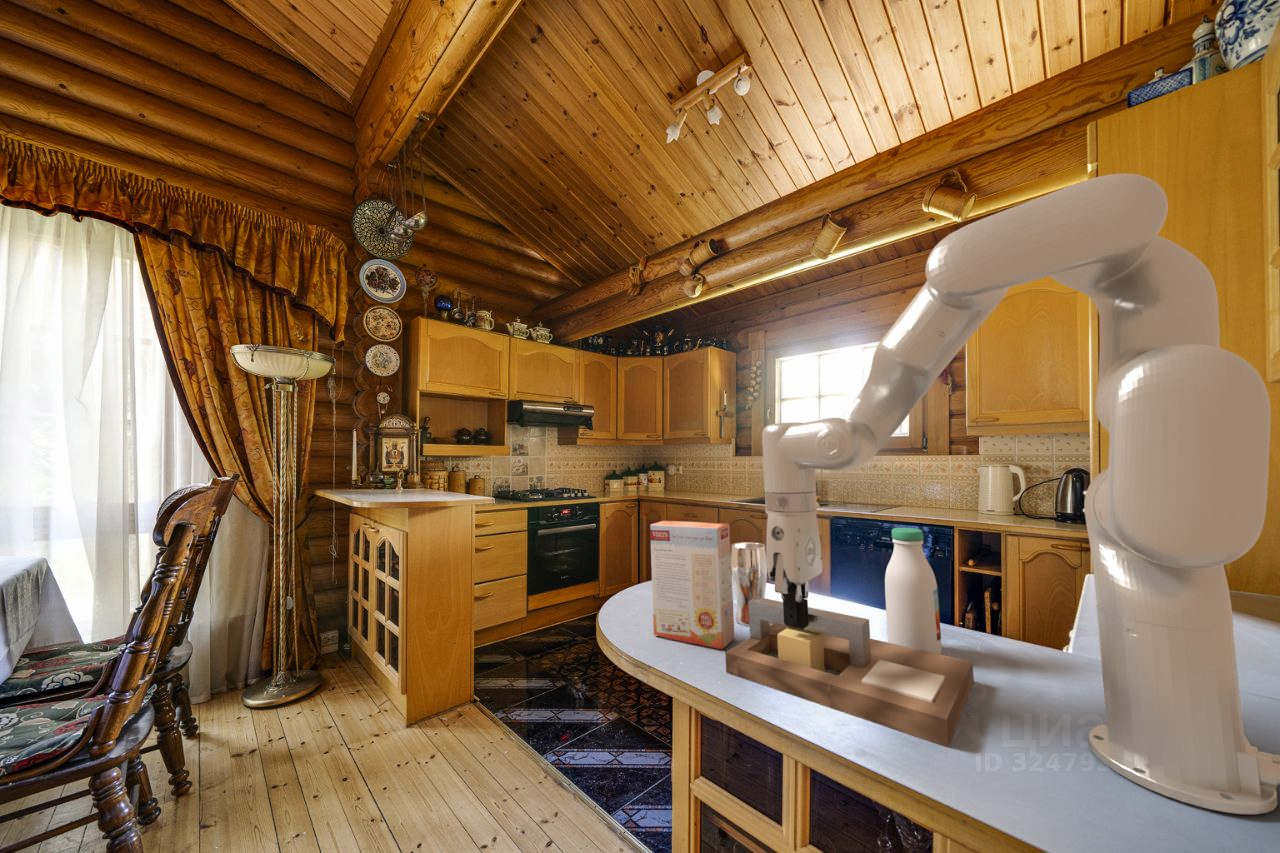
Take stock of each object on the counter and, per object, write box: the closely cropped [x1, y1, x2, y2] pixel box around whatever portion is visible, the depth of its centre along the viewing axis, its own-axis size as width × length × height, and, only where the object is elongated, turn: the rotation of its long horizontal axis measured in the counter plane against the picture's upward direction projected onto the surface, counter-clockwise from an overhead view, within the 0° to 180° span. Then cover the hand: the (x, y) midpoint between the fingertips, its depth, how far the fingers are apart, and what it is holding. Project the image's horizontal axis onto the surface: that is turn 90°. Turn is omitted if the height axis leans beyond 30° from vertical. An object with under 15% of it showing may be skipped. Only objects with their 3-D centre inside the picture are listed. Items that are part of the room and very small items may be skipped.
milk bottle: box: [884, 527, 942, 655], centre depth 79 cm, size 8×8×20 cm
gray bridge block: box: [748, 597, 871, 668], centre depth 73 cm, size 18×3×6 cm, turn 48°
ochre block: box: [777, 626, 826, 672], centre depth 72 cm, size 5×5×6 cm
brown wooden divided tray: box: [725, 622, 975, 748], centre depth 70 cm, size 29×19×3 cm, turn 48°
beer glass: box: [731, 541, 768, 627], centre depth 94 cm, size 7×7×15 cm
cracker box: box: [650, 520, 735, 650], centre depth 87 cm, size 14×6×21 cm, turn 58°
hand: (796, 625), depth 71 cm, fingers closed
